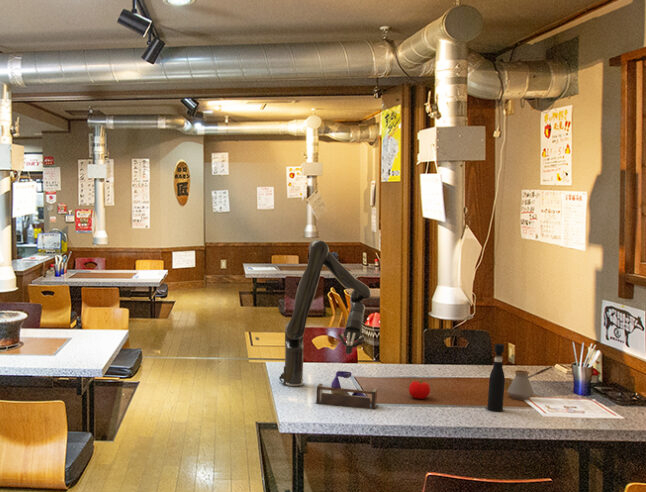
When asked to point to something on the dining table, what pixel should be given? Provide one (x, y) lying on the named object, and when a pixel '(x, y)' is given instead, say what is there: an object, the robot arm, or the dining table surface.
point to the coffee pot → (522, 385)
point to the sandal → (337, 385)
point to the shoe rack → (346, 397)
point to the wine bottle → (496, 382)
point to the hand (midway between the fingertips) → (348, 353)
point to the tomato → (419, 389)
